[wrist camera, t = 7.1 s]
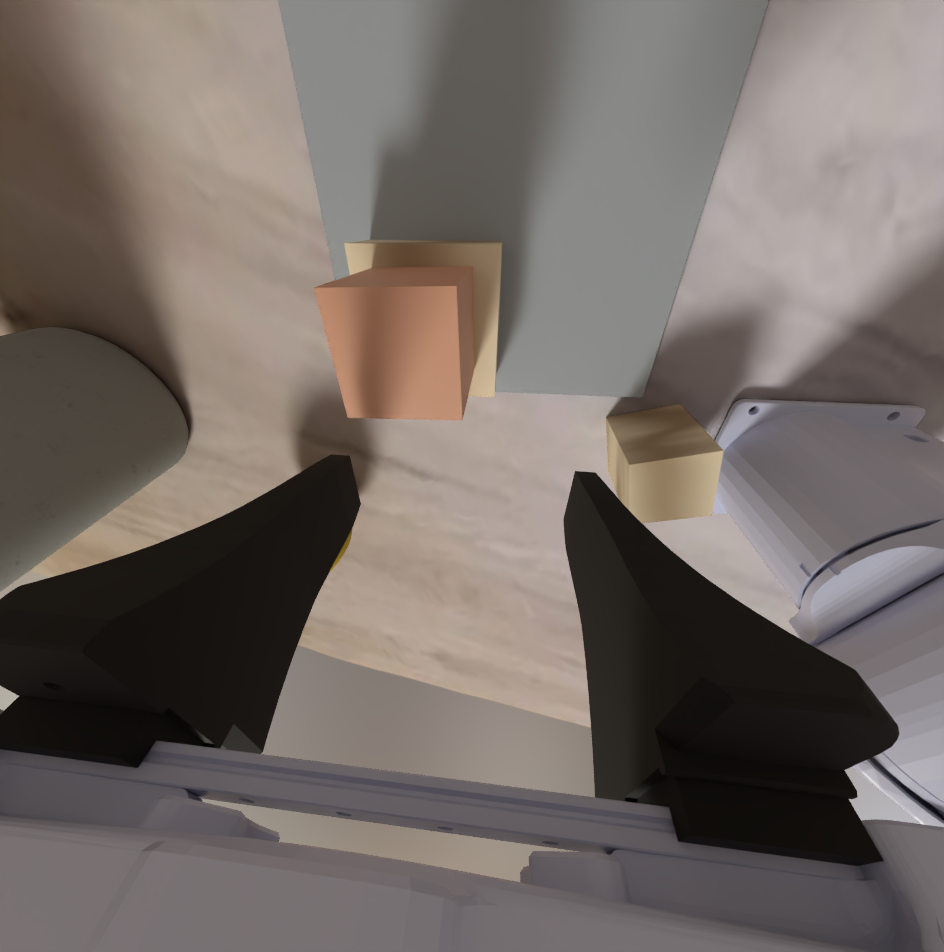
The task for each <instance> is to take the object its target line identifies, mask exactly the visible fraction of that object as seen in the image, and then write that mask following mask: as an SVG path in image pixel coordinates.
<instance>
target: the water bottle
mask: <svg viewBox="0 0 944 952" xmlns="http://www.w3.org/2000/svg"><path fill="white" fill-rule="evenodd" d="M187 445H188V427H187V423H186V419H185V417H184V415H183V412H182V410H181V408H180V406H179V404H178V403H177V401H176V400H175V398H174V397H173V395H172V394H171V392H170V391H169V390H168V389H167V388H166V386H165V385H164V384H163V383H162V382H161V381H160V379H159V378H158V377H156V376H155V375H154V374H153V373H152V372H151V371H150V370H149V369H148V368H147V367H146V366H145V365H143V364H142V363H141V362H139V361H138V360H137V359H135V358H134V357H133V356H132V355H130V354H129V353H127V352H125V351H124V350H122V349H120V348H119V347H117V346H115V345H114V344H112V343H110V342H107V341H105V340H103V339H101V338H99V337H96V336H94V335H90V334H87V333H84V332H80V331H77V330H73V329H67V328H59V327H44V328H34V329H30V330H25V331H21V332H16V333H12V334H8V335H3V336H0V592H1V591H2V590H3V589H5V588H6V587H8V586H9V585H10V584H12V583H13V582H14V581H16V580H17V579H18V578H20V577H21V576H23V575H24V574H25V573H27V572H28V571H30V570H31V569H32V568H34V567H35V566H36V565H38V564H39V563H41V562H42V561H43V560H45V559H46V558H47V557H49V556H50V555H51V554H53V553H54V552H56V551H57V550H58V549H60V548H61V547H62V546H64V545H65V544H67V543H68V542H69V541H71V540H72V539H73V538H75V537H76V536H78V535H79V534H80V533H82V532H83V531H84V530H86V529H87V528H88V527H90V526H91V525H93V524H94V523H95V522H97V521H98V520H99V519H101V518H102V517H104V516H105V515H106V514H108V513H109V512H110V511H112V510H113V509H115V508H116V507H117V506H119V505H120V504H121V503H123V502H124V501H125V500H127V499H128V498H130V497H131V496H132V495H134V494H135V493H136V492H138V491H139V490H141V489H142V488H143V487H145V486H146V485H147V484H149V483H150V482H152V481H153V480H154V479H156V478H157V477H158V476H160V475H161V474H163V473H164V472H165V471H167V470H168V469H169V468H171V467H172V466H173V465H175V464H176V463H177V462H178V461H179V460H180V459H181V457H182V456H183V455H184V453H185V451H186V448H187Z"/></svg>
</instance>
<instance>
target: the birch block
mask: <svg viewBox="0 0 944 952" xmlns="http://www.w3.org/2000/svg"><path fill="white" fill-rule="evenodd" d="M606 430H607V453H608V472H609V475H610V477H611V480H612V482H613V485H614V487H615V490H616V492H617V495H618V498H619V500H620V501H621V502H622V503H623V504H624V505H625V507H626V508H627V509H628V510H629V511H630V512H631V513H632V514H633V515H634V516H635V517H636V518H637V519H638V520H639V521H640V522H641V523H650V522H658V521H667V520H676V519H684V518H693V517H702V516H711V515H712V512H713V507H714V501H715V496H716V490H717V485H718V479H719V474H720V468H721V463H722V457H723V452H724V450H723V449H722V448H721V447H720V446H719V445H718V444H717V443H716V442H715V441H714V440H713V439H712V437H711V436H710V435H709V434H708V433H707V432H706V431H705V430H704V429H703V428H702V427H701V426H700V424H699V423H698V422H697V421H696V420H695V419H694V418H693V417H692V416H691V415H690V414H689V413H688V412H687V410H686V409H685V408H684V407H683V406H682V405H681V404H676V405H670V406H665V407H660V408H654V409H649V410H643V411H638V412H632V413H627V414H621V415H616V416H610V417H606Z"/></svg>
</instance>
